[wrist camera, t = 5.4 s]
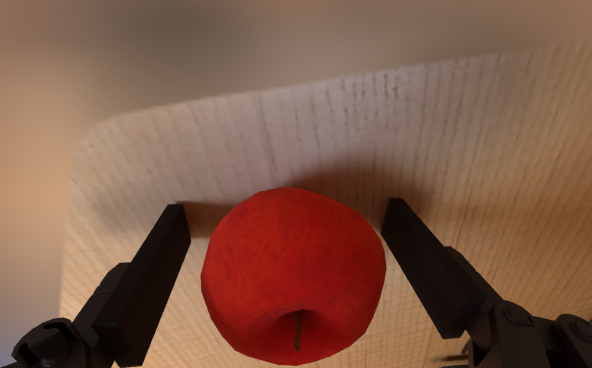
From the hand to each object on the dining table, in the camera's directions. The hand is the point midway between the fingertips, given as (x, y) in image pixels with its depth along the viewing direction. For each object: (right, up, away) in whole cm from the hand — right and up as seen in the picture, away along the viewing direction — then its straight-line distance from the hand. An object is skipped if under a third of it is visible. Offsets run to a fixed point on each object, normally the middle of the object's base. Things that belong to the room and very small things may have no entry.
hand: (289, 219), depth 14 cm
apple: (0, 0, 0) cm, 0 cm away
